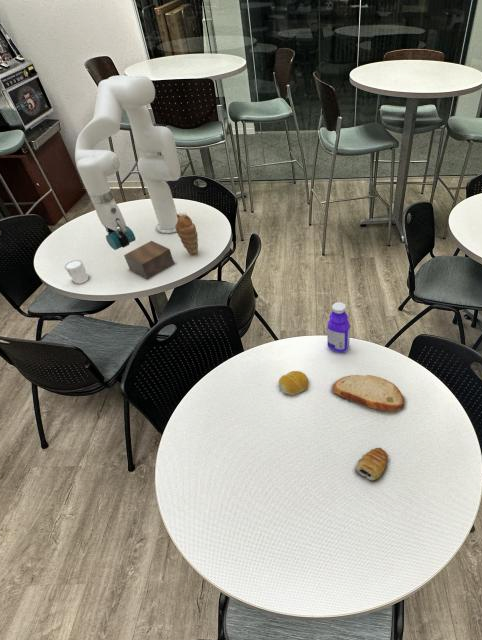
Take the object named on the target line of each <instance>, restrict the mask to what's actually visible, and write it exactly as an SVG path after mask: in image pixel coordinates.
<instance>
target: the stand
mask: <svg viewBox="0 0 482 640" xmlns="http://www.w3.org/2000/svg"><path fill="white" fill-rule="evenodd" d="M123 257H124V259H125V261H126V264H127V266H128V269H129V271H131V272H132V273H135V274H136V275H139V276H140V277H142V278H144V279H146V280H149V279H151V278H153V277H154V276H156V275H158V274H159V273H161V272H163V271H165V270H166V269H168V268H170V267H172V266H173V265H175V262H174V258H173V255H172V252H171V248H168V247H166V246H164V245H162V244H159V243H158V242H156V241H153V240H150V241H148V242H146V243H143V244H142V245H141V246H138V247H137V248H135V249H133V250H131V251H129V252H127V253H125V254H124V255H123Z"/></svg>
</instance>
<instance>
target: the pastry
mask: <svg viewBox="0 0 482 640" xmlns="http://www.w3.org/2000/svg"><path fill="white" fill-rule="evenodd" d="M388 457H389V456H388V453H387V452H386V450H385V449H383V448H382V447H375V448H373V449H372V448H371V449H370V450H369V451H367V452H366V453H365V454H363V455H362V457H361V458H360V459H359V460H358V462H357V464H356V466H355V467H354V468H355V471H357V473H358V474H359V475H361V476H363V477H365V478H366V479H368V480H369V481H375V480H377V479H379V478H380V477H382V475H383V472H384V471H385V469H386V466H387V462H388Z"/></svg>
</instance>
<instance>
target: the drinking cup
mask: <svg viewBox="0 0 482 640" xmlns="http://www.w3.org/2000/svg"><path fill="white" fill-rule="evenodd" d="M125 228H126V229H127V232H126V234H127V235H126V236H127V238H128V241H129V244H131V243H133V242H134V241H136V236H135V233H134V231H133V230H132V229H131V228H130V227H129V226H128V225H126V227H125ZM118 232H119V233H120V232H121V230H119V231H118ZM118 238H119V237H118V235H117V233H116V231H114V232H112V233H110V234H108V233H107V234H106V235H105V239H106V242H107V244H108V245H109V247H110V248H111V249H113V250H114V251H116V250H119V249H121V248H123V247H122V246H121V244H120V242H119V239H118Z"/></svg>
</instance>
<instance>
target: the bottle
mask: <svg viewBox="0 0 482 640" xmlns="http://www.w3.org/2000/svg"><path fill="white" fill-rule="evenodd" d="M331 307H332V308H331V310H332V311H331V313H330V314H329V320H328V322H327V325H326V326H327V327H326V328H327V329H326V331H327V347H328V349H329V350H330V351H333V352H335V353H340V354H341V353H342V354H343V353H345V352H347V350H348V348H349V347H350V339H351V337H350V336H351V323H350V321H349V316H348V314H347V312H346V310H347V306H346V304H345V303H343V302H335V303H333V304H332V306H331Z"/></svg>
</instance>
